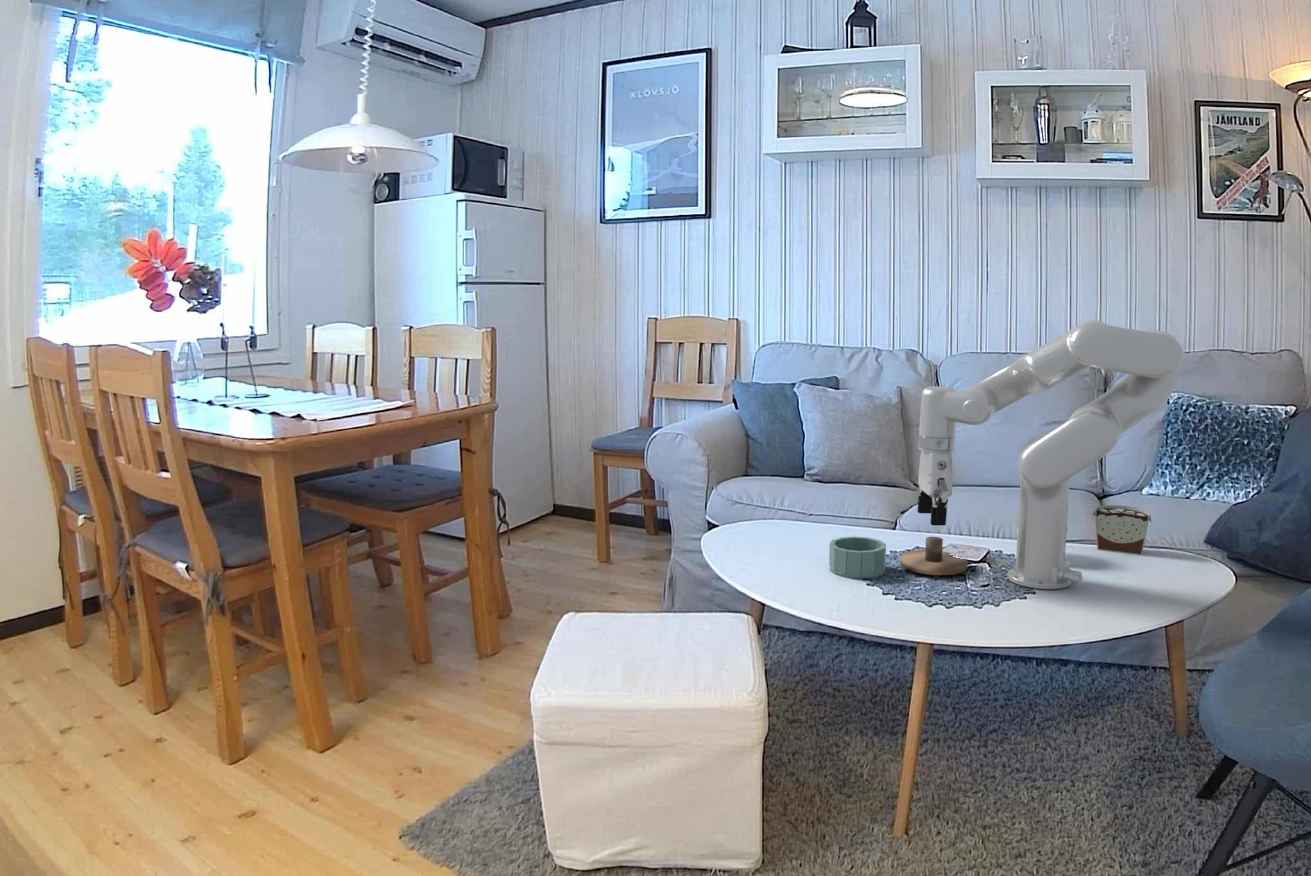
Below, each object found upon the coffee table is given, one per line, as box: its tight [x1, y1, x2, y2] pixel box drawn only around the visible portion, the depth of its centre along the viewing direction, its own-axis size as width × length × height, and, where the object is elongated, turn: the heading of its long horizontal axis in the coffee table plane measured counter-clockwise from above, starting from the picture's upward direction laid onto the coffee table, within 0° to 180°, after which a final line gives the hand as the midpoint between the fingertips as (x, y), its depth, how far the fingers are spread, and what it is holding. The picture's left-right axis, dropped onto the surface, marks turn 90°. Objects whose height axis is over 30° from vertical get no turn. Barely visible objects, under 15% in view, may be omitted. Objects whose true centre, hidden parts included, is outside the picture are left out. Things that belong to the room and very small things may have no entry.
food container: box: [1092, 504, 1152, 556], centre depth 215 cm, size 12×6×10 cm, turn 58°
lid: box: [899, 536, 969, 576], centre depth 204 cm, size 14×14×7 cm
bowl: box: [828, 536, 887, 580], centre depth 204 cm, size 12×12×6 cm
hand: (931, 518), depth 203 cm, fingers open, 9 cm apart
